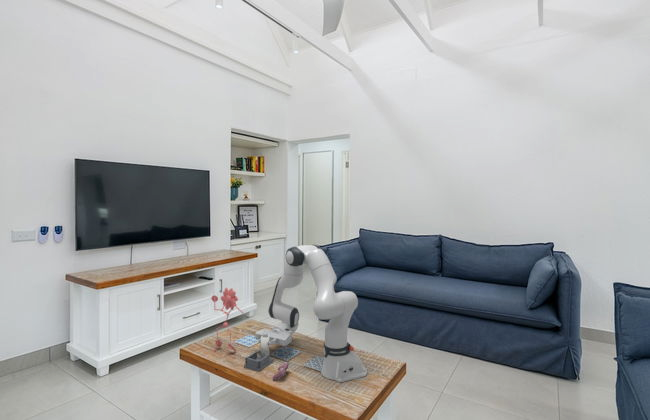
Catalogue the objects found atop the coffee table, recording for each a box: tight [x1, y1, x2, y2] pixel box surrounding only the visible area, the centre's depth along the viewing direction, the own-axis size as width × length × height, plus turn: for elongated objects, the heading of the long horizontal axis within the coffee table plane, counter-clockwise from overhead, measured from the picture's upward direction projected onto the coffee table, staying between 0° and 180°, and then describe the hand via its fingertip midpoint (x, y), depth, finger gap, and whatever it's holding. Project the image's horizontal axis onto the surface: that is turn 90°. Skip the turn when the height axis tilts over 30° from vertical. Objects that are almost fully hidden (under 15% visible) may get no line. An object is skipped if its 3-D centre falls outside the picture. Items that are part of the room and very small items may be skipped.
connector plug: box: [260, 332, 270, 357], centre depth 170 cm, size 4×4×12 cm
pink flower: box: [211, 287, 245, 359], centre depth 183 cm, size 15×26×35 cm, turn 59°
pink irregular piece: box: [272, 361, 290, 381], centre depth 155 cm, size 10×5×7 cm, turn 170°
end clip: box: [243, 351, 275, 373], centre depth 166 cm, size 12×10×5 cm
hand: (264, 342), depth 169 cm, fingers closed on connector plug, 4 cm apart
